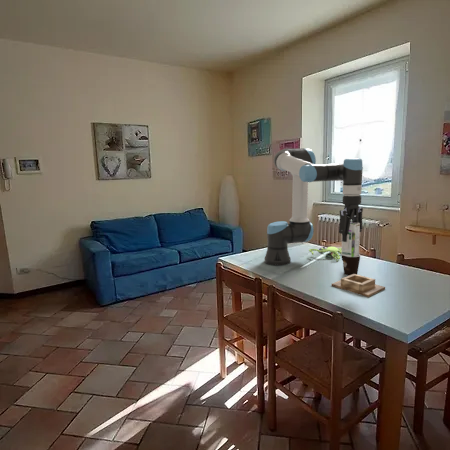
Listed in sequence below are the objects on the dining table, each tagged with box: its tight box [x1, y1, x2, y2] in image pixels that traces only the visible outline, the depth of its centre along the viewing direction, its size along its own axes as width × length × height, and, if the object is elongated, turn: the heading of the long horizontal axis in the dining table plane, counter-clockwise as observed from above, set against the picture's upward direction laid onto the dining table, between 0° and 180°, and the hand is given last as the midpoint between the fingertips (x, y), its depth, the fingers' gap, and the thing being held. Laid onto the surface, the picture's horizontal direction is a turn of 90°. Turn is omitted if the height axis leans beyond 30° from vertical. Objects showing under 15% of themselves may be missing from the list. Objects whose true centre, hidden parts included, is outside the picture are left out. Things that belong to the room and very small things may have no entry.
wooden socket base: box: [330, 273, 386, 298], centre depth 149 cm, size 18×14×4 cm
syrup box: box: [340, 221, 361, 257], centre depth 144 cm, size 6×6×14 cm
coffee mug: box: [341, 253, 361, 276], centre depth 169 cm, size 12×9×10 cm
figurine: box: [308, 246, 342, 262], centre depth 203 cm, size 18×27×6 cm
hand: (350, 247), depth 145 cm, fingers closed on syrup box, 6 cm apart
